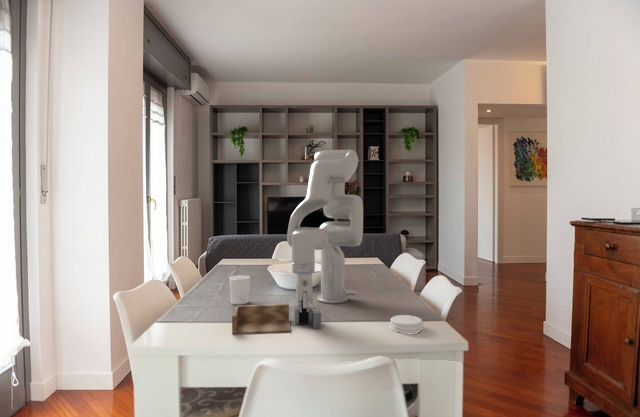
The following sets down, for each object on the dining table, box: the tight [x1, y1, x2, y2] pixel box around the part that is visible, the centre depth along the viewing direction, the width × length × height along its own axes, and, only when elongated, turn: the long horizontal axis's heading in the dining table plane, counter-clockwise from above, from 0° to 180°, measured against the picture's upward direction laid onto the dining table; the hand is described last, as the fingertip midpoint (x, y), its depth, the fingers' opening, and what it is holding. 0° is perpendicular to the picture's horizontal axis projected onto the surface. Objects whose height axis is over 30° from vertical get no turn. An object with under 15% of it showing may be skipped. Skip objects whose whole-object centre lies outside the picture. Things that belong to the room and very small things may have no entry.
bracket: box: [293, 306, 322, 330], centre depth 139 cm, size 8×7×5 cm
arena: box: [231, 303, 292, 335], centre depth 138 cm, size 18×12×6 cm, turn 97°
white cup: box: [228, 274, 251, 306], centre depth 167 cm, size 8×8×10 cm
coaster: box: [390, 314, 423, 334], centre depth 137 cm, size 10×10×4 cm
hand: (303, 321), depth 142 cm, fingers closed on bracket
